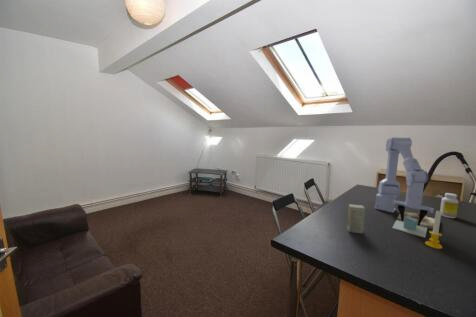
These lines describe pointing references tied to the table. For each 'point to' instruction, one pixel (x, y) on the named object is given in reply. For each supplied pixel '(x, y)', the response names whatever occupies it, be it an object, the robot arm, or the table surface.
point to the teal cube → (410, 223)
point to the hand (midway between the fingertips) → (410, 222)
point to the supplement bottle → (449, 205)
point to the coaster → (419, 229)
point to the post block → (425, 221)
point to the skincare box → (355, 218)
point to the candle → (435, 233)
